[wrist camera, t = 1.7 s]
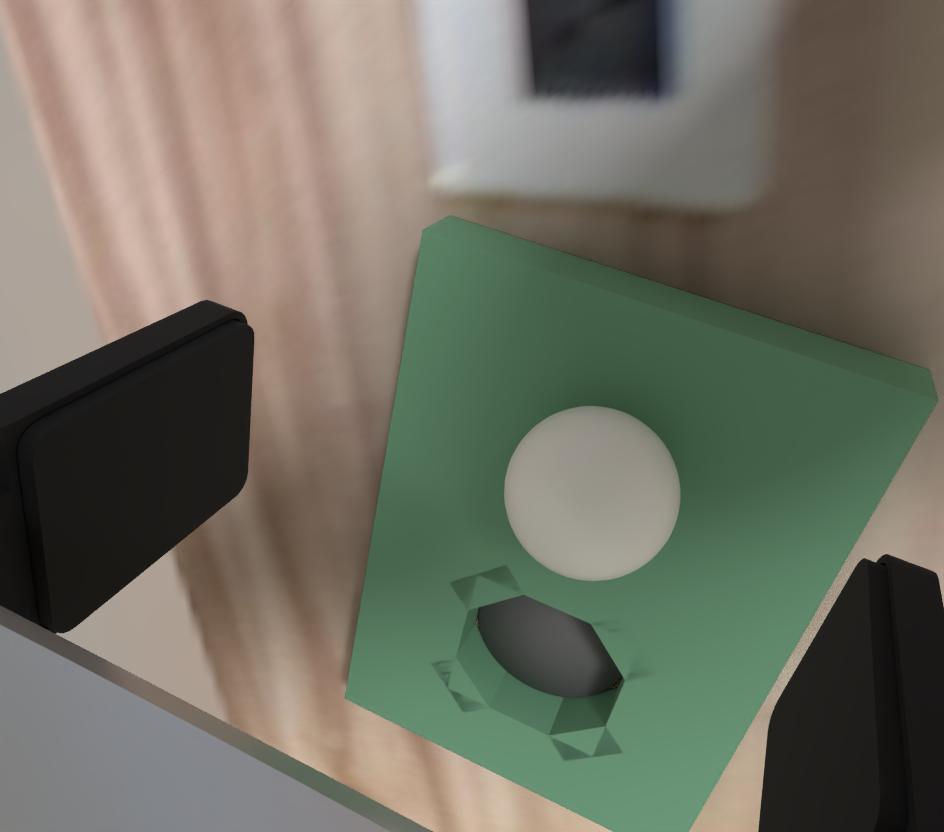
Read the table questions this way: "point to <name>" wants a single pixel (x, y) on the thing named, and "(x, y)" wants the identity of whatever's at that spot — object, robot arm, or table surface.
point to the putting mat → (644, 590)
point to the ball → (592, 493)
